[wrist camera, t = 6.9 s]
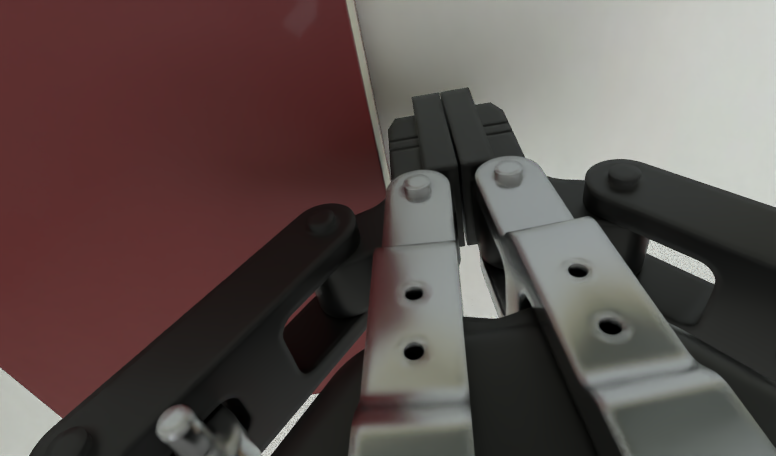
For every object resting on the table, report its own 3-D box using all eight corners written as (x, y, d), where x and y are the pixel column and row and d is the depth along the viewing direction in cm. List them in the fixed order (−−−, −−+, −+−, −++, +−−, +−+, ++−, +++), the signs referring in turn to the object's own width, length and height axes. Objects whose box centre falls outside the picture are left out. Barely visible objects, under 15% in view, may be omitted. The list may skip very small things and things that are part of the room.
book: (104, 362, 21) (73, 427, 19) (-454, -219, 9) (-734, -234, 7) (418, 315, 20) (426, 378, 18) (271, -411, 8) (236, -505, 6)
